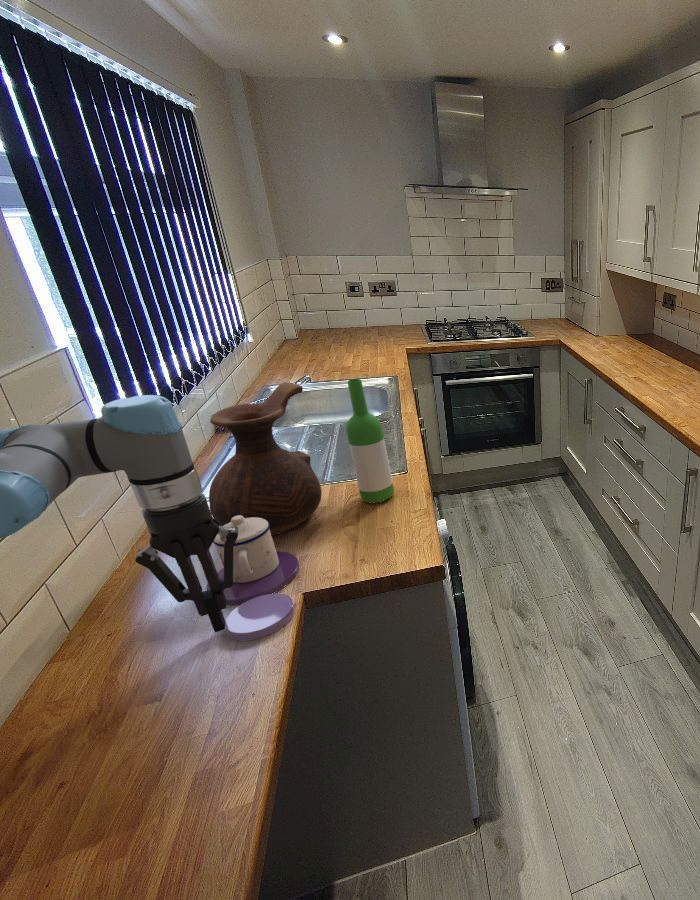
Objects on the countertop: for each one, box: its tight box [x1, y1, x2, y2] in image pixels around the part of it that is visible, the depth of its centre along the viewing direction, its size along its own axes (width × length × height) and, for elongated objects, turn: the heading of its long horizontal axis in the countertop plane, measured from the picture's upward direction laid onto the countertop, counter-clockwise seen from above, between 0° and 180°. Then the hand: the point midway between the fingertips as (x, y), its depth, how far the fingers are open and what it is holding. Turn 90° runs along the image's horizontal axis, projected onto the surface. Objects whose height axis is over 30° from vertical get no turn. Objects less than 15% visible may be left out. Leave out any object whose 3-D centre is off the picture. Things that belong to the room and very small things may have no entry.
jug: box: [208, 381, 322, 536], centre depth 114 cm, size 22×22×30 cm
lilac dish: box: [225, 592, 296, 642], centre depth 89 cm, size 10×10×2 cm
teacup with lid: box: [212, 515, 279, 583], centre depth 98 cm, size 12×9×12 cm
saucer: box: [206, 550, 300, 606], centre depth 100 cm, size 15×15×1 cm
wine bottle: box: [345, 378, 395, 504], centre depth 124 cm, size 8×8×30 cm
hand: (220, 626), depth 86 cm, fingers closed
